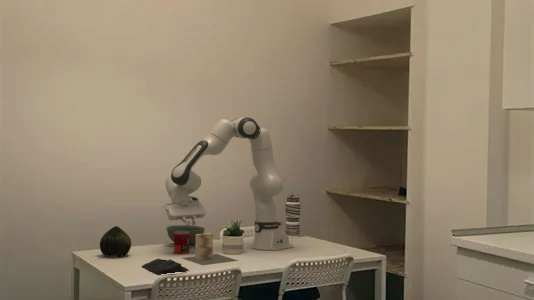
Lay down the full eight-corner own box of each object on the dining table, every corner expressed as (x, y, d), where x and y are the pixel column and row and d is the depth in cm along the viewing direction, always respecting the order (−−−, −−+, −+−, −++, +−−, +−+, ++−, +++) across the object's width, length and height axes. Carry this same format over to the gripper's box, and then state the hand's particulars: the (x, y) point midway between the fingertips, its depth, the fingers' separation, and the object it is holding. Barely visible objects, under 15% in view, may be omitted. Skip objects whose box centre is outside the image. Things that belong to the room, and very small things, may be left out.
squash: (111, 249, 298) (126, 223, 307) (89, 247, 306) (104, 221, 315) (128, 265, 307) (142, 239, 316) (106, 263, 315) (120, 238, 324)
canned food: (183, 255, 314) (183, 233, 314) (170, 253, 318) (170, 231, 318) (192, 253, 321) (192, 231, 320) (180, 251, 325) (180, 230, 324)
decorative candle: (288, 237, 372) (288, 195, 372) (282, 235, 381) (283, 193, 381) (302, 237, 375) (303, 194, 375) (296, 234, 384) (297, 193, 384)
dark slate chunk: (170, 264, 295) (170, 254, 295) (191, 273, 277) (191, 262, 277) (138, 267, 287) (138, 257, 287) (158, 277, 268) (158, 266, 268)
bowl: (159, 244, 345) (159, 225, 345) (194, 241, 357) (194, 223, 356) (176, 250, 328) (176, 231, 328) (211, 246, 339) (212, 228, 339)
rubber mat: (216, 254, 317) (216, 253, 317) (238, 261, 301) (239, 260, 301) (181, 258, 306) (181, 258, 306) (202, 266, 290) (202, 265, 290)
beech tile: (209, 257, 307) (210, 232, 307) (212, 258, 305) (212, 233, 305) (195, 259, 302) (195, 234, 302) (198, 260, 300) (198, 235, 300)
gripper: (165, 199, 313) (174, 222, 305) (201, 197, 325) (211, 219, 318) (161, 208, 317) (170, 230, 309) (196, 205, 329) (206, 227, 321)
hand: (191, 224), depth 313 cm, fingers open, 2 cm apart
